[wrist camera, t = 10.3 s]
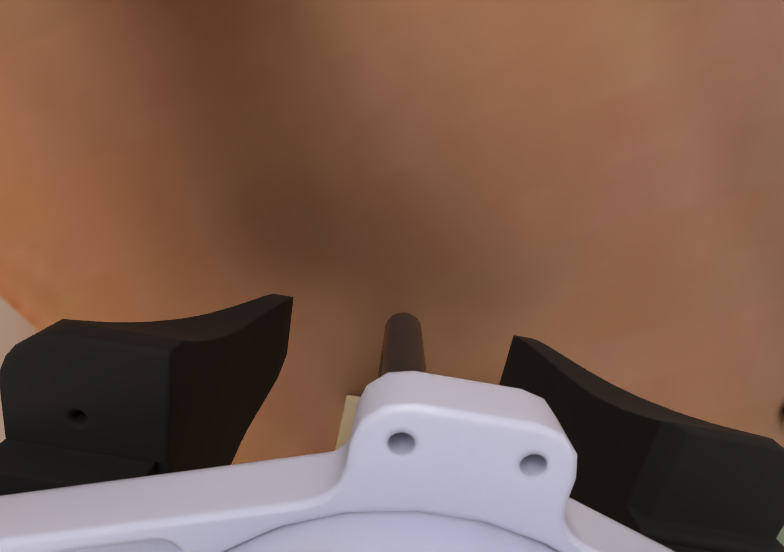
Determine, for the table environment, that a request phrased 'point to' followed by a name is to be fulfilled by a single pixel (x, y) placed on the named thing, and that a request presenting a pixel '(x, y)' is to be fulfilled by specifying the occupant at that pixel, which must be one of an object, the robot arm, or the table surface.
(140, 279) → the table surface
